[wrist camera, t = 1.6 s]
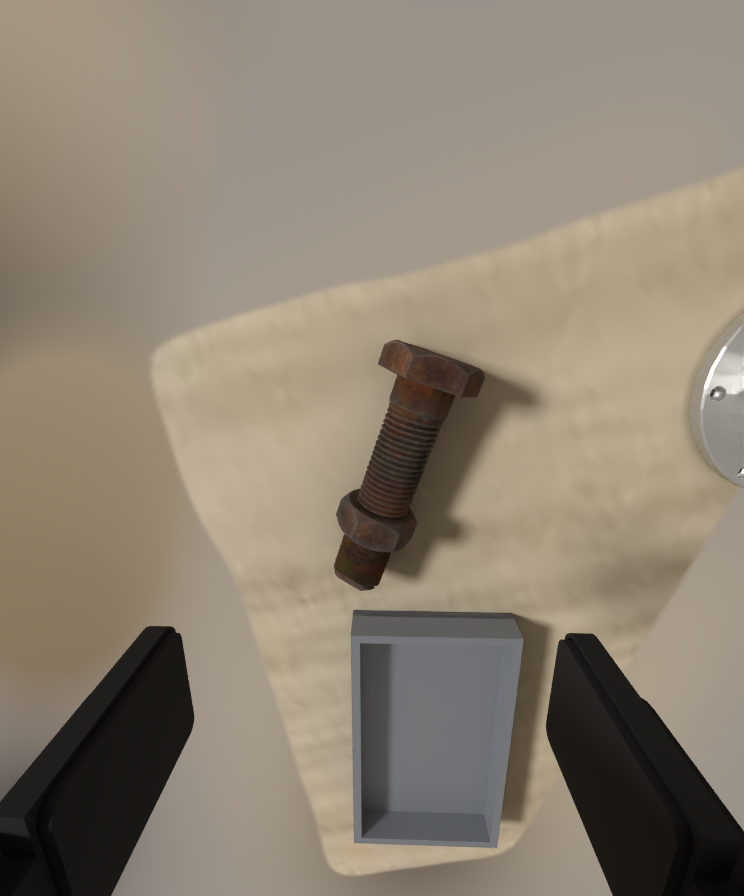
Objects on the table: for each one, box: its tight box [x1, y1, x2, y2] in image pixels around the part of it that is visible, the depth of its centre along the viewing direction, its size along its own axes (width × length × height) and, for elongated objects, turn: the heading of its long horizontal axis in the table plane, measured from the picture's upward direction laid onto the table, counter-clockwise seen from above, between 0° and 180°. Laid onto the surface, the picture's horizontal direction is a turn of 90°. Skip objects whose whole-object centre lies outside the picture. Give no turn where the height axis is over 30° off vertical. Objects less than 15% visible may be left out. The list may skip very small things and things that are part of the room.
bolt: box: [334, 340, 485, 591], centre depth 23 cm, size 6×5×15 cm
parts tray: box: [351, 610, 524, 848], centre depth 29 cm, size 11×20×2 cm, turn 0°
